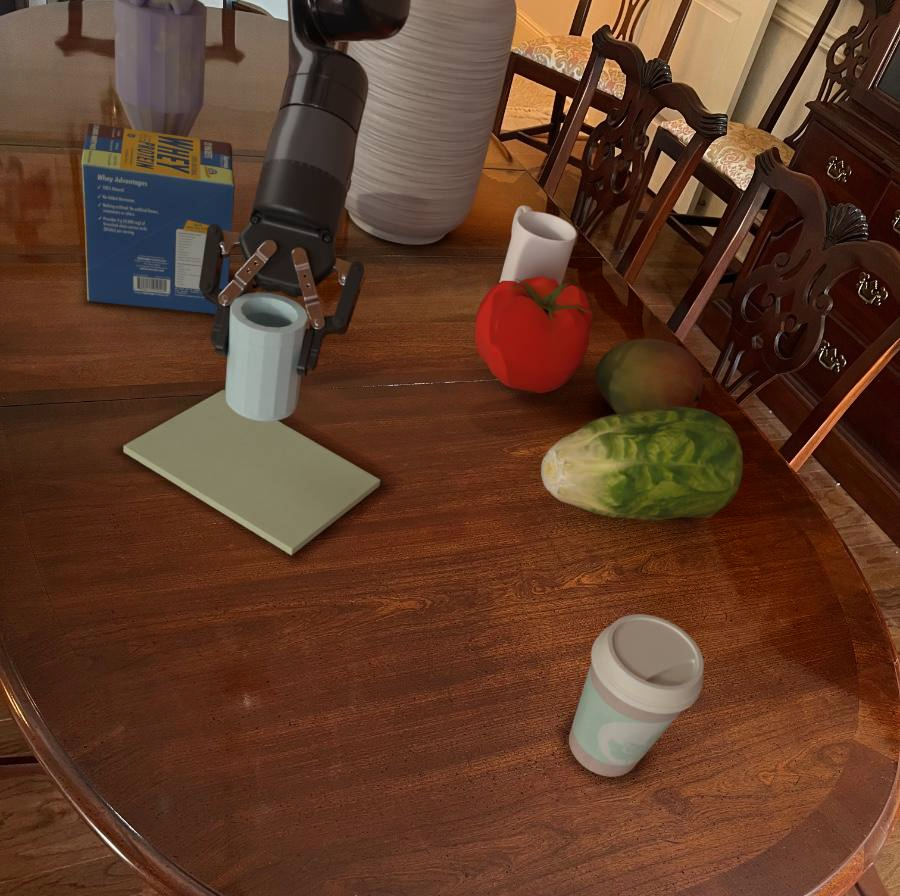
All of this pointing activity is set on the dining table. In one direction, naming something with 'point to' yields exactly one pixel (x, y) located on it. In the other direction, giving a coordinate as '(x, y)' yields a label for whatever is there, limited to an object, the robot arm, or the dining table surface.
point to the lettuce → (647, 465)
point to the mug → (538, 246)
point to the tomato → (533, 332)
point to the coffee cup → (633, 691)
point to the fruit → (648, 376)
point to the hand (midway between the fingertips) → (261, 363)
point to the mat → (254, 471)
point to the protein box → (152, 215)
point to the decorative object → (160, 63)
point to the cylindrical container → (264, 355)
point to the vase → (428, 117)
